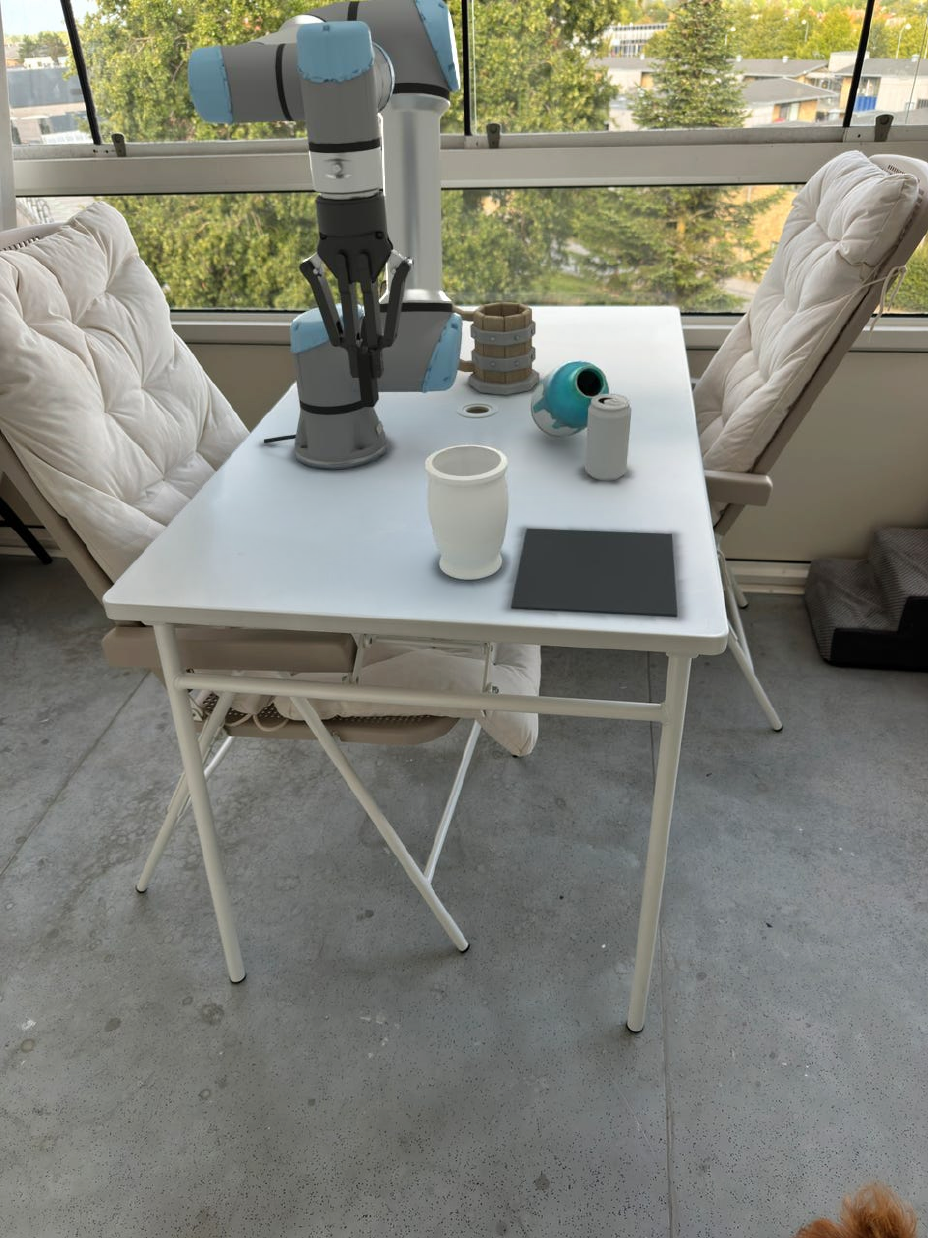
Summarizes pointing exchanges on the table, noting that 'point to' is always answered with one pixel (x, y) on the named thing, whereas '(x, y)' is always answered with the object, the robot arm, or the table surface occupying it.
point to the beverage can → (607, 436)
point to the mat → (596, 572)
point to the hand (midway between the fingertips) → (370, 402)
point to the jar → (468, 508)
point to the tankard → (501, 348)
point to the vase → (567, 397)
